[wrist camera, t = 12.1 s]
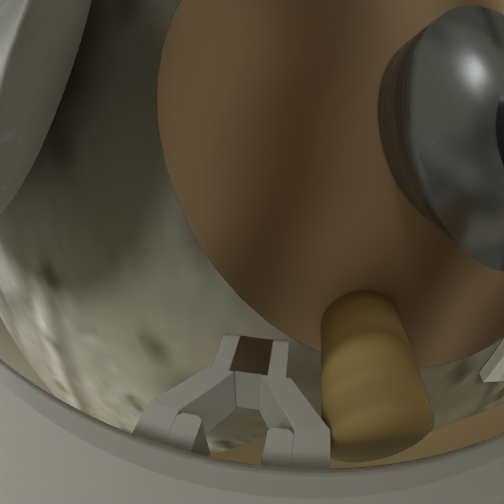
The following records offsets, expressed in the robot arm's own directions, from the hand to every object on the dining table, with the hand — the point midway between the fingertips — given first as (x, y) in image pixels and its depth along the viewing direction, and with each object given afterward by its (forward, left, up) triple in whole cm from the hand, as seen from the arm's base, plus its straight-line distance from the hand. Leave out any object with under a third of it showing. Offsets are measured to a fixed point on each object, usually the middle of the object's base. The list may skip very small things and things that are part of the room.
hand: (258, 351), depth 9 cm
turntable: (+6, +9, -3) cm, 11 cm away
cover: (+5, +9, -2) cm, 10 cm away
